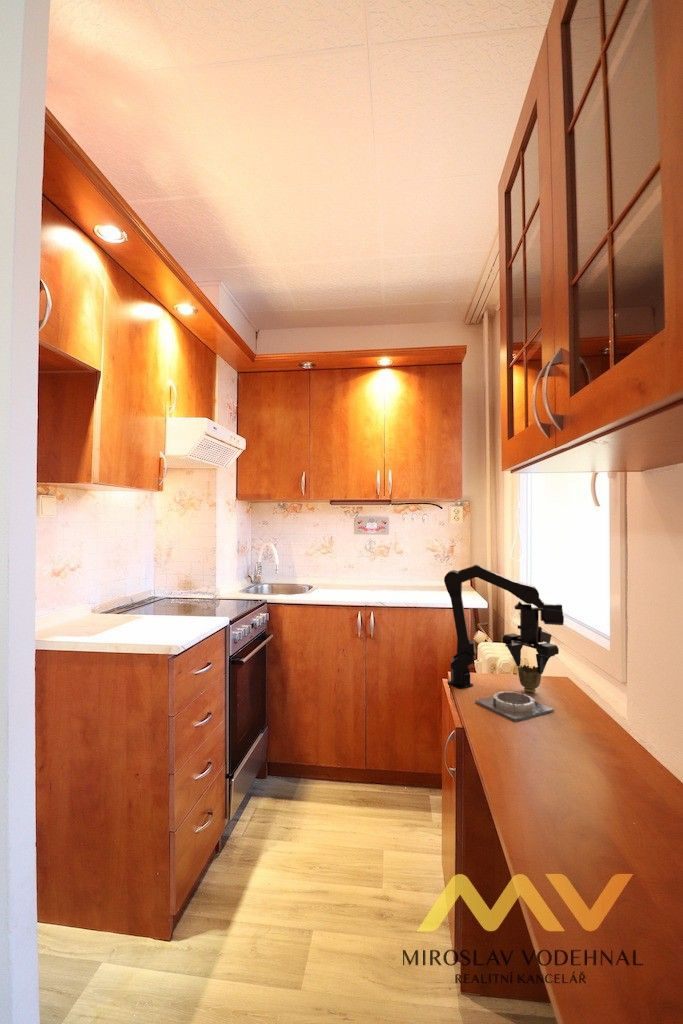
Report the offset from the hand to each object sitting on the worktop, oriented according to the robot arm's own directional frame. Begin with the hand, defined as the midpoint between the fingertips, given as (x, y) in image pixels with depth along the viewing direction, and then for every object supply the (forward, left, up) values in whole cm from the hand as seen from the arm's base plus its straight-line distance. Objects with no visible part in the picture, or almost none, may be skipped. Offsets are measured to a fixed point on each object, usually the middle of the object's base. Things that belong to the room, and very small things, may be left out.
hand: (529, 670), depth 159 cm
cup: (0, 0, -8) cm, 8 cm away
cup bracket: (+7, -15, -7) cm, 18 cm away
